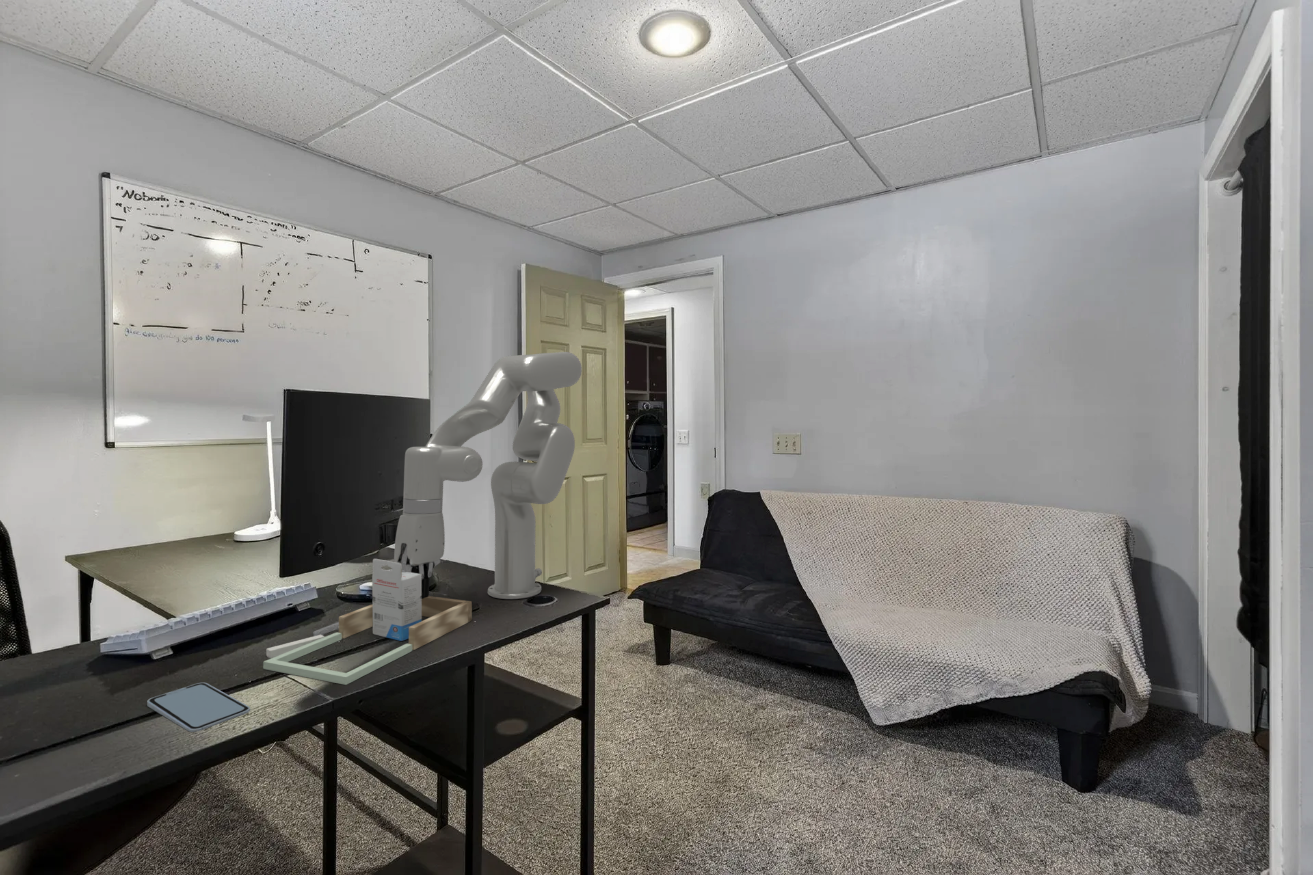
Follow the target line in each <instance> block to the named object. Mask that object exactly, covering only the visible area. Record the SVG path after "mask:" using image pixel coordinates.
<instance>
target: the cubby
mask: <svg viewBox="0 0 1313 875" xmlns="http://www.w3.org/2000/svg"><path fill="white" fill-rule="evenodd" d="M472 602H473V601H470V600H463V599H456V598H447V597H439V596H432V595H431V596H430V595H429V596H428V597H426V598H423V599H422V617H427V618H426V619H424V620H422V621H421V622H419V623H417V624H415V625H413V626H410V627H409V638H408V644H412V651H415V650H417V649H419V648H421V647H423V646H424V645H427V644H429V643H430V642H432V641H435V640H437V639H439V638H441V637H442V636H445V635H447V634H448V633H450V632H452V631H454V630H457V629H458V628H460V627H462V626H464V625H466V624H468V623H470V622H472V620H473V619H472V618H473V616H472V615H473V613H472V612H473V610H472V606H473V604H472ZM338 622H339V629H338V633H342V639H346V638H349V637H351V636H353V635H355V634H357V633H358V634H359V633H360V632H363V631H365V630H368V629H370V628H373V603H372V604H369V605H367V606H364V607H361V608H359V609H356V610H353V611H350V612H348V613H345V614H343V615H340V616H338Z"/></svg>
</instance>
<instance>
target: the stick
mask: <svg viewBox="0 0 1313 875" xmlns="http://www.w3.org/2000/svg"><path fill="white" fill-rule="evenodd" d="M324 637H326V636H325V635H317V636H310V637H306V638H302V639H299V640H294V641H291V642H287V643H283V644H280V645H279V644H278V645H275V646H272V647H267V648H265V649H266V650H265V651H266V655H265V656H266V657H267V658H268V659H271V658H274V657H276V656H279V655H281V654H284V653H286V652H289V651H291V650H294V649H296V648H299V647H301V646H304V645H306V644H309V643H311V642H314V641H316V640H319V639H321V638H324Z"/></svg>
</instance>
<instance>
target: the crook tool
mask: <svg viewBox="0 0 1313 875" xmlns="http://www.w3.org/2000/svg"><path fill="white" fill-rule="evenodd" d="M336 630H337V631H338V630H339V621H337V622H334V623H332V624H329V625H327V626H324V627H321V628H319V629H317V630H314V631H313V636H317V635H323V636H325V635H326V634H328V633H329V634H330V633H332V632H333V631H336ZM313 636H312V637H313Z"/></svg>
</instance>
